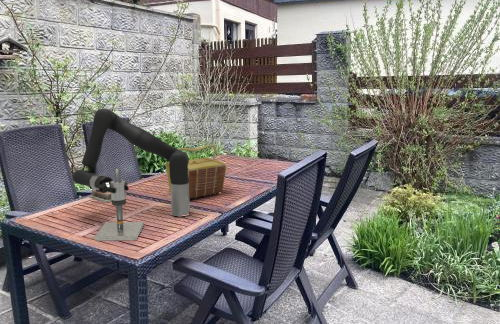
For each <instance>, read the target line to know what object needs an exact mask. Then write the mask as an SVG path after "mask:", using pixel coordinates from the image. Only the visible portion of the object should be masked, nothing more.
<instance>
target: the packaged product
mask: <svg viewBox="0 0 500 324" xmlns="http://www.w3.org/2000/svg"><path fill="white" fill-rule="evenodd" d="M89 197H90V199H93V200H95V201H98V202H101V203H105V204H107V203H112V199H111V192H109V193H108V192H107V193H101V192H97V191H96V190H95V189H92V190H91V195H89V196H88V198H89Z"/></svg>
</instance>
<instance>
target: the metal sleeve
mask: <svg viewBox="0 0 500 324" xmlns="http://www.w3.org/2000/svg"><path fill="white" fill-rule="evenodd" d="M125 182H126V181H125V180H123V179H121V182H119V183H115V180H113V181H111V187H112V188H115V190H116V193H111V199H112V200H114V201H121V200H125V199H126V200H127V196H126V190H125Z"/></svg>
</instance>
